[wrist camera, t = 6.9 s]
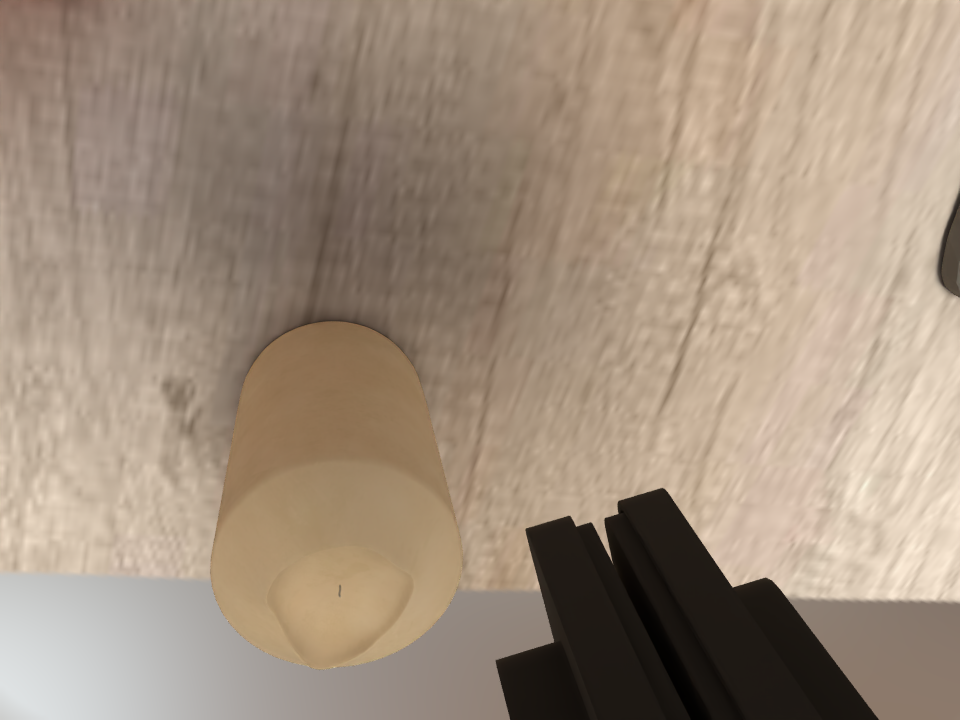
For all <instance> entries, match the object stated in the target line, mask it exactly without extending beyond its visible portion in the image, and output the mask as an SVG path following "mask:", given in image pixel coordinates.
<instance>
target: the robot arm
mask: <svg viewBox="0 0 960 720" xmlns="http://www.w3.org/2000/svg"><path fill="white" fill-rule="evenodd" d="M618 513H619V514H617V515H614V516H611V517H607V518H605V520H604V521H605V528H606V533H607V538H608V542H609V547H610V552H611V556H612V561H613V563H612V561H611V559H610V557H609V555H608V553H607V552H606V550H605V548H604V546H603V544H602V542H601V540H600V538H599V536H598V534H597V532H596V530H595V528H594V526H593V524H592V523H587V524H584V525H581V526H577V527H576V526H575V524H574V521H573V520H572V518H571V516H567V517H563V518H560V519H557V520H553V521H550V522H547V523H543V524H540V525H537V526H533V527H530V528H527V529H526V535H527V539H528V543H529V547H530V551H531V554H532V558H533V562H534V566H535V570H536V574H537V577H538V581H539V585H540V589H541V593H542V596H543V600H544V604H545V608H546V612H547V615H548V619H549V623H550V627H551V631H552V634H553V638H554V643H551V644H548V645H544V646H541V647H538V648H534V649H531V650H528V651H524V652H521V653H518V654H515V655H511V656H508V657H505V658H502V659H499V660H496V665H497V669H498V673H499V677H500V681H501V685H502V689H503V693H504V697H505V701H506V704H507V708H508V712H509V716H510V720H879V719H878V718H877V717H876V715H875V714H874V713H873V711H872V710H871V709H870V708H869V707H868V705H867V704H866V702H865V701H864V700H863V698H862V697H861V696H860V694H859V693H858V692H857V690H856V689H855V688H854V686H853V685H852V684H851V682H850V681H849V680H848V678H847V677H846V676H845V675H844V673H843V672H842V671H841V669H840V668H839V667H838V665H837V664H836V663H835V661H834V660H833V659H832V657H831V656H830V655H829V653H828V652H827V651H826V649H825V648H824V647H823V645H822V644H821V643H820V642H819V640H818V639H817V637H816V636H815V635H814V634H813V632H812V631H811V630H810V628H809V627H808V626H807V624H806V623H805V622H804V620H803V619H802V618H801V616H800V615H799V614H798V612H797V611H796V610H795V608H794V607H793V606H792V604H791V603H790V602H789V600H788V599H787V598H786V597H785V595H784V594H783V593H782V591H781V590H780V589H779V588H778V587H777V585H776V584H775V583H774V582H773V581H772V580H770V579H768V578H763V579H759V580H756V581H753V582H750V583H746V584H743V585H740V586H737V587H733V588H732V586H731V585H730V583H729V582H728V580H727V579H726V577H725V576H724V574H723V573H722V571H721V570H720V569H719V567H718V566H717V564H716V563H715V561H714V560H713V558H712V557H711V555H710V554H709V552H708V551H707V549H706V548H705V546H704V545H703V544H702V542H701V541H700V539H699V538H698V536H697V535H696V533H695V532H694V530H693V529H692V527H691V526H690V524H689V523H688V521H687V520H686V519H685V517H684V516H683V514H682V513H681V511H680V510H679V508H678V507H677V505H676V504H675V502H674V501H673V499H672V498H671V496H670V495H669V494H668V492H667V491H666V490H665V489H663V488H660V489H657V490H654V491H650V492H647V493H644V494H640V495H637V496H634V497H630V498H627V499H624V500H620V501H618Z"/></svg>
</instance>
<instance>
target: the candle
mask: <svg viewBox="0 0 960 720" xmlns="http://www.w3.org/2000/svg"><path fill="white" fill-rule="evenodd" d="M462 564H463V550H462V544H461V537H460V533H459V529H458V525H457V521H456V517H455V513H454V510H453V506H452V502H451V498H450V494H449V490H448V486H447V482H446V478H445V474H444V471H443V467H442V463H441V459H440V455H439V451H438V447H437V443H436V439H435V435H434V431H433V428H432V424H431V420H430V416H429V412H428V408H427V404H426V400H425V397H424V393H423V390H422V387H421V384H420V381H419V377H418V375H417V373H416V371H415V369H414V367H413V365H412V364H411V362H410V361H409V359H408V358H407V357H406V355H405V354H404V353H403V352H402V351H401V350H400V349H399V347H398V346H397V345H395V344H394V343H393V342H392V341H391V340H389V339H388V338H386V337H385V336H383V335H382V334H380V333H378V332H376V331H374V330H372V329H370V328H367V327H364V326H361V325H358V324H353V323H348V322H338V321H329V322H318V323H312V324H308V325H305V326H301V327H298V328H296V329H294V330H291V331H289V332H287V333H285V334H284V335H282V336H280V337H279V338H277V339H276V340H275V341H273V342H272V343H271V344H270V345H268V346H267V348H266V349H265V350H264V351H263V352H262V353H261V354H260V355H259V356H258V358H257V359H256V361H255V362H254V363H253V365H252V366H251V368H250V370H249V372H248V374H247V376H246V378H245V381H244V384H243V387H242V391H241V395H240V400H239V405H238V410H237V416H236V421H235V427H234V432H233V438H232V443H231V449H230V455H229V460H228V466H227V471H226V477H225V482H224V488H223V494H222V499H221V505H220V510H219V516H218V521H217V527H216V532H215V538H214V544H213V549H212V555H211V569H210V574H211V582H212V588H213V591H214V595H215V598H216V601H217V603H218V605H219V607H220V609H221V611H222V613H223V615H224V616H225V617H226V619H227V620H228V622H229V623H230V624H231V626H232V627H233V628H234V629H235V630H236V631H237V632H238V633H239V634H240V635H241V636H242V637H243V638H245V639H246V640H247V641H248V642H250V643H251V644H252V645H254V646H255V647H257V648H259V649H260V650H262V651H263V652H266V653H268V654H270V655H272V656H274V657H276V658H280V659H282V660H286V661H289V662H292V663H296V664H301V665H306V666H309V667H311V668H313V669H318V670H323V669H330V668H333V667H345V666H354V665H358V664H363V663H368V662H371V661H374V660H377V659H381V658H383V657H386V656H388V655H390V654H393V653H395V652H397V651H399V650H401V649H402V648H404V647H406V646H408V645H410V644H411V643H413V642H414V641H415V640H417V639H418V638H419V637H421V636H422V635H423V634H424V633H425V632H427V631H428V630H429V629H430V628H431V627H432V626H433V625H434V624H435V623H436V622H437V621H438V619H439V618H440V617H441V616H442V615H443V613H444V612H445V610H446V609H447V607H448V605H449V604H450V603H451V600H452V598H453V596H454V594H455V592H456V590H457V587H458V583H459V580H460V577H461V571H462Z"/></svg>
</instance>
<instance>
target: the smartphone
mask: <svg viewBox="0 0 960 720" xmlns="http://www.w3.org/2000/svg"><path fill="white" fill-rule="evenodd" d="M941 275H942V278H943V281H944V285H945V287H947V288H948V289H949V290H950V291H951V292H952V293H953V294H954V295H956V296H958V297H960V205H959V208H958V210H957V213H956V216H955V218H954V221H953V224H952V226H951V229H950V232H949V234H948V238H947V243H946V247H945V252H944V257H943V263H942V270H941Z"/></svg>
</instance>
